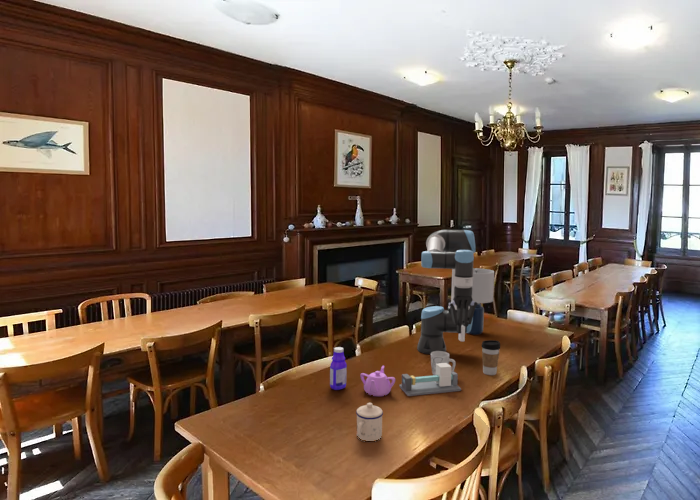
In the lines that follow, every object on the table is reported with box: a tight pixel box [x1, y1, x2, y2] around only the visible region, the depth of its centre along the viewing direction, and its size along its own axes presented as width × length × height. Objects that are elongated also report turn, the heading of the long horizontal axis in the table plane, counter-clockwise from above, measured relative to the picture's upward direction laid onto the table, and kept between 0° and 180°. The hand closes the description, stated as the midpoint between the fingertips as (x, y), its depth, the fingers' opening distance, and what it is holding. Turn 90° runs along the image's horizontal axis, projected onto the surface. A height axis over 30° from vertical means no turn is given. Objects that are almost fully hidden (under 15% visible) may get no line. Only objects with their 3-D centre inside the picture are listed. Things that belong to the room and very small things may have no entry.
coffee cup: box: [481, 339, 501, 376], centre depth 223 cm, size 8×8×15 cm
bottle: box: [329, 346, 348, 391], centre depth 204 cm, size 7×6×17 cm
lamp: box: [468, 267, 495, 336], centre depth 287 cm, size 20×20×39 cm
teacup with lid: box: [355, 402, 384, 441], centre depth 161 cm, size 12×9×12 cm
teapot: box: [359, 365, 396, 397], centre depth 200 cm, size 12×14×9 cm
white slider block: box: [435, 363, 452, 387], centre depth 205 cm, size 5×5×8 cm
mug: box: [430, 351, 457, 376], centre depth 219 cm, size 11×8×10 cm
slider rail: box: [399, 371, 462, 397], centre depth 204 cm, size 10×24×6 cm, turn 104°
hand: (461, 340), depth 205 cm, fingers closed
